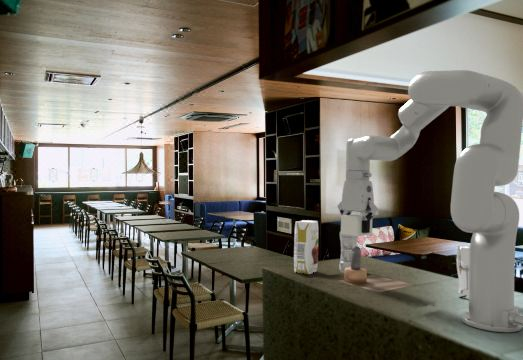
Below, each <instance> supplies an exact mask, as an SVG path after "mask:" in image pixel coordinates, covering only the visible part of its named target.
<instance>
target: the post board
mask: <svg viewBox="0 0 523 360" xmlns="http://www.w3.org/2000/svg"><path fill="white" fill-rule="evenodd" d="M361 254H362V249H361V247H359V246H358V245H356V246H354V247H352V249H351V267H347V268H345V273H344V278H343V279H339V280H337V282H339V283H343V284H346V285H351V286H354V287H358V288H360V289H364V290H365V289H366V290H369V291H371V292H376V293H382V292H387V291H392V290H397V289H401V288H402V289H403V288H408V287H412V286H415V284H413V283H409V282H405V281H400V280H396V279H392V278H386V277H383V276H378V275H373V274H370V275H368V274H367V273H368V270H367V269H366V268H364V267H361V266H362V265H361V262H362V259H361V256H362V255H361Z"/></svg>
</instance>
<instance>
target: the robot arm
mask: <svg viewBox="0 0 523 360" xmlns="http://www.w3.org/2000/svg"><path fill="white" fill-rule="evenodd" d="M407 94H408V97H409V100H407V102H406V103H404V105H402V106H401V107H400V108H399V109H398V112H397V116H398V118H399V121H400V123H401V124H402V126H401V127H400V128H399V129H398V130H397V131H396V132H395V133H393V134H392V135H391V136H390V137H389V136H383V135H382V136H381V135H372V134H370V135H366V136H363V137H362V136H361V137H353V138H349V139H348V140H347V141H346V149H345V150H346V151H345V152H346V155H345V158H346V159H345V180H344V182H343V187H342V194H341V196H342V197H341V201H340V202H339V203H338V204H337V209H338V210H339V213H340V216H341V215H353V214H352V213H353V212H356V213H360V215H362V217H363V219H364V220H362V233H369V232H370V220H372V221H373V218H374V216H375V215H376V213H377V212H378V211H379V208H378V207H377V205H375V199H374V188H373V186H374V185H373V183H372V181H371V180H370V178H371V177H372V173H371V172H370V171H371V170H370V169H371V166H370V165H371V164H370V163H371V161H382V162H392V161H395V160H397V159H398V158H400V157H402V156H403V155H404V154H406V153H407V152H408V151H409V150H410V149H412V148H413V147H414V145H415V144H416V142H417V140H418V138H419V136H420V133H421V130H423V129H424V128H426V126H428V125H429V124H430V123H431V122H432V121H433V120H435V119H436V118H437V117H439V116H440V115H441V114H443V112H445V111H446V110H447V109H448V108H449V107H459V108H462V109H463V108H465V109H470V110H473V111H479V112H483V113H485V114H486V116H485V118H484V120H483V122H482V125H481V129H480V138H479V143H476V144H471V145H469V146H468V147H466V148H464V149H463V150H462V151H461V152H460V153H459V155H458V157H457V159H456V161H455V164H454V169H453V176H452V188H451V199H450V216H451V218H452V219H451V220H452V222H453V223H454V225H455V226H456V227H457V228H458V229H460V230H461V231H462V232H465V233H470V234H472V236H471V238H470V245H469V246H470V261H469V300H468V311H467V312H462V314H461V321H462V322H463V323H464V324H466V325H468V326H471V327H473V328H476V329H480V330H483V331H487V332H489V331H490V332H495V333H496V332H498V333H517V332H520V331H521V329H522V327H523V315H521V313H519V308H518V307H515V267H516V265H515V263H516V262H515V261H516V241H517V233H518V227H519V222H520V211H519V206H518V204H517V203H516V201H515V200H514V199H513V198H512V197H511V196H509V195H508V194H506V193H503V192H500V191H495V187H502V186H506V185H509V184H510V183H512V182H513V181H514V180H515V179H516V177H517V174H518V170H519V163H520V154H521V145H522V132H523V131H522V130H523V94H522V92H521V91H520V90H519V89H518V88H517V86H515V85H513V84H512V83H509V82H508V81H505V80H503V79H501V78H498V77H495V76H491V75H488V74H483V73H480V72H477V71H473V70H465V69H459V70H458V69H457V70H426V71H423V72H420V73H418V74H417V75H416V76H414V77H413V78H412V79H411V81H410V82H409V84H408V89H407Z"/></svg>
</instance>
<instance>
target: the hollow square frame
mask: <svg viewBox="0 0 523 360" xmlns="http://www.w3.org/2000/svg"><path fill="white" fill-rule="evenodd" d="M362 220H364V219H363V217H362V214H351V215H341V214H340V231H341V234H347V235H354V236H359V237H360V236H361V237H362V236H372V235H373V219H372V220H370V232H369V233H362Z"/></svg>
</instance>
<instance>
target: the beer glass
mask: <svg viewBox="0 0 523 360" xmlns="http://www.w3.org/2000/svg"><path fill="white" fill-rule="evenodd" d="M455 261H456V271H457V272H456V273H457V277H458V293H459V294H462V295H461V296H458V298H459V299H461V300H466V301H469V261H470V245H458V246H457V250H456V260H455Z"/></svg>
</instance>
